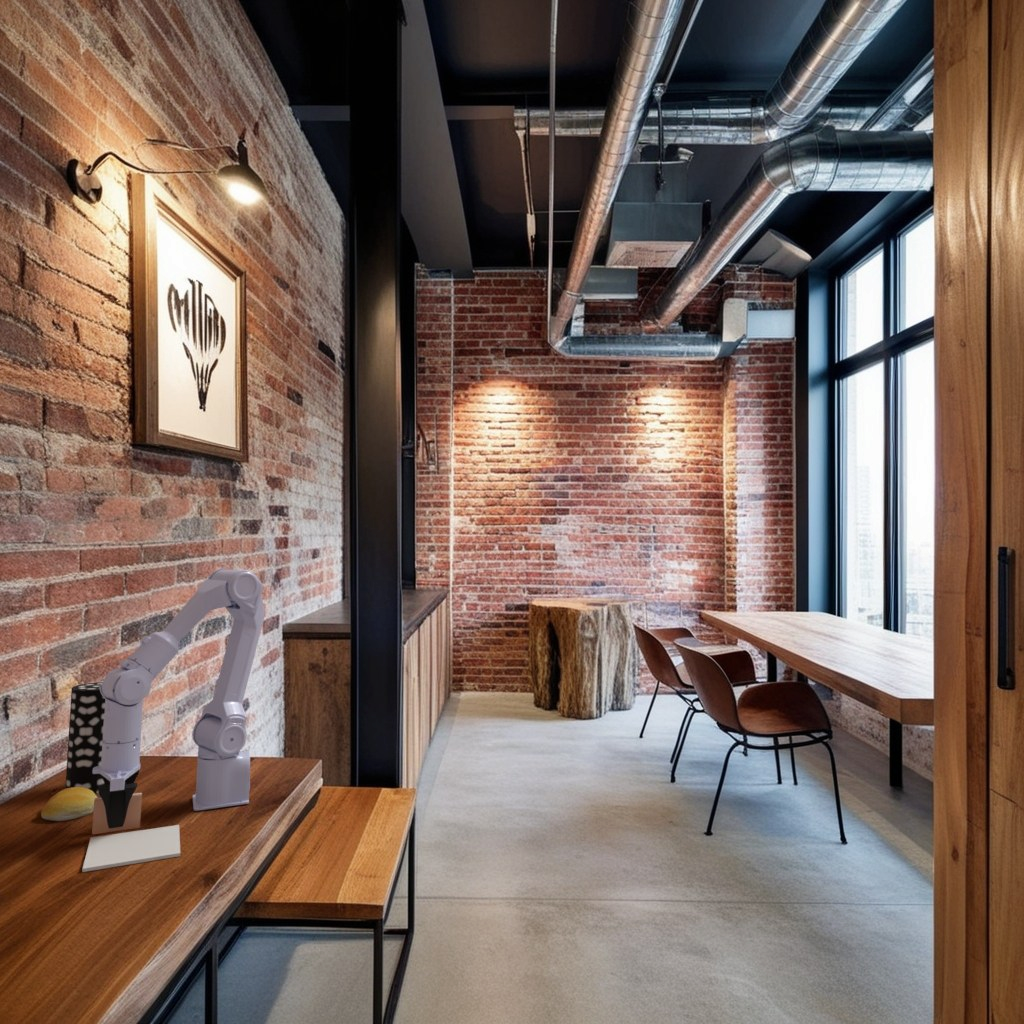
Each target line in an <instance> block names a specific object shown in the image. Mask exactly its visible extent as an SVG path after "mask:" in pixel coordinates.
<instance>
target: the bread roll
mask: <svg viewBox="0 0 1024 1024" xmlns="http://www.w3.org/2000/svg"><path fill="white" fill-rule="evenodd" d="M95 798H98V796H97V795H96V794H95V793H94V792H93V791H92V790H89V789H87V788H83V787H72V788H67V789H65V788H64V789H62V790H60V791H58V792H57V793H55V794H54V795H53V796H51V798H49V800H48V801H47V803H46V804H45V805H44V807H43V808H42V809H41V812H40V816H41V818H42V819H43V820H46V821H54V822H65V821H66V822H67V821H71V820H76V819H79V818H83V817H85V816H88V815H90V814H92V813H93V812H94V800H95Z"/></svg>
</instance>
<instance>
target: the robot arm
mask: <svg viewBox="0 0 1024 1024" xmlns="http://www.w3.org/2000/svg"><path fill="white" fill-rule="evenodd" d="M263 588H264V584H263V583H262V582H261V580H260V579H259V577H258V576H257V575H256V574H255V572H253V571H250V570H247V569H241V570H236V569H229V568H228V569H227V568H219V569H216V570H214V571H212V572H211V573H210V574H209V576H208V577H207V578H206V579H204V580H203V581H202V582H201V583H200V585H199V586H198V588H197V590H196V591H195V593H194V594H193V595H192V596H191V597H190V599H189V600H188V601H187V602H186V603H185V604H184V606H183V607H182V608H181V609H180V611H178V612H177V614H175V616H174V617H173V619H172V620H171V621H170V622H169V623H168V625H167V626H166V627H164V629H163V630H161V631H158V632H157V631H156V632H151V633H150V634H149V635H144V636H143V637H142V638H141V639H140V641H139V643H141V644H140V645H139V646H138V647H137V648H136V649H135V650H134V651H133V652H132V653H131V654H130V655H129V656H128V658H126V659H123V660H121V662H120V663H119V666H120V667H117V668H116V669H115V668H114V669H112V670H111V671H109V672H108V673H107V674H106V675H105V676H104V678H103V680H102V682H103V684H102V685H100V686H99V689H100V692H101V694H102V696H103V697H104V698H105V713H104V725H103V742H102V759H101V766H97V767H94V768H93V774H101V775H102V779H103V781H104V783H105V785H99V788H98V792H99V793H98V795H99V796H100V798H102V800H103V802H104V805H105V810H106V817H107V823H108V827H109V828H117V827H123V825H124V822H125V818H126V814H127V809H128V805H129V802H130V799H131V797H132V795H133V794H134V793H135V792H136V789H137V788H138V782H136V779H137V778H138V776H139V774H140V770H141V762H140V760H141V757H140V756H141V742H142V741H141V740H142V738H141V737H142V723H143V722H142V721H143V703H144V702H143V700H144V699H145V698H147V697H148V696H149V695H150V692H151V688H152V687H151V686H152V682H153V681H154V680H155V679H156V678H157V676H158V675H159V674H160V673H161V672H162V671H163V670H164V669H165V667H166V666H167V665H168V664H169V663H170V662H172V660H173V659H174V658H175V657H176V655H178V653H179V644H180V641H181V640H182V639H184V638H185V637H186V635H188V634H189V632H191V631H192V630H193V628H195V627H196V626H197V624H199V623H200V622H201V621H202V619H204V618H205V617H206V616H207V615H208V614H209V613H210V612H211V611H214V610H219V609H222V608H223V609H224V608H225V609H226V610H227V612H228V613H229V614H230V615H231V617H232V619H233V623H232V625H231V629H230V633H229V637H228V641H227V645H226V648H225V651H224V652H225V653H224V655H223V659H222V663H221V667H220V670H219V674H218V678H217V682H216V686H215V690H214V694H213V697H212V700H211V701H210V702H209V703H207V704H206V705H205V706H204V708H203V710H202V713H201V716H200V718H199V719H198V721H196V723H195V725H194V726H193V729H192V740H193V742H194V743H195V745H196V746H198V747H197V761H196V764H197V765H196V783H195V784H196V785H195V787H196V788H195V794H192V796H191V797H192V807H193V811H195V812H196V811H197V812H198V811H206V810H213V809H220V808H227V807H234V806H241V805H248V804H250V800H249V799H250V789H251V780H250V778H251V755H250V754H251V753H250V751H248V750H246V751H242V749H243V747H244V745H245V744H246V740H247V736H248V735H247V730H246V729H247V728H246V724H247V723H246V722H247V720H248V715H247V714H246V712H245V709H244V706H243V702H244V698H245V694H246V690H247V686H248V682H249V678H250V675H251V674H250V673H251V671H252V667H253V663H254V659H255V654H256V651H257V648H258V647H257V646H258V643H259V640H260V635H261V631H262V627H263V625H264V619H265V607H264V601H263V596H262V593H263Z"/></svg>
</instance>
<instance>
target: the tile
mask: <svg viewBox="0 0 1024 1024" xmlns="http://www.w3.org/2000/svg"><path fill="white" fill-rule="evenodd" d="M142 795H143V792H134V793H133V795H132V797H131V799H130V802H129V805H128V809H127V814H126V818H125V822H124V825H123V827H117V828H109V827H108V823H107V817H106V810H105V805H104V802H103V800H102V798H101V797H97V798H95V800H94V811H93V812H92V813H93V814H92V817H93V818H92V832H91V835H98V834H106V833H113V832H118V831H119V832H120V831H126V830H134V829H140V828H141V816H142V814H141V813H142V800H143V799H142V798H143V796H142Z"/></svg>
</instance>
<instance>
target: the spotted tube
mask: <svg viewBox="0 0 1024 1024" xmlns="http://www.w3.org/2000/svg"><path fill="white" fill-rule="evenodd" d="M103 682H104V681H102V682H91V683H90V682H89V683H82V684H78V685H73V686H72V687H71V692H70V695H71V697H70V709H69V710H70V711H69V725H68V737H67V738H68V739H67V740H68V741H67V753H66V754H67V757H66V768H65V769H66V770H65V786H64V789H67V788H72V787H83V788H87V789H89V790H92V791H93V792H94V793H95V795H96V794H97V795H98V794H99V792H98V788H99V785H105V783H104V781H103V779H102V775H101V774H93V768H94V767H97V766H101V759H102V742H103V725H104V713H105V698H104V697H103V696H102V694H101V692H100V689H99V686H100V685H102V684H103Z"/></svg>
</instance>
